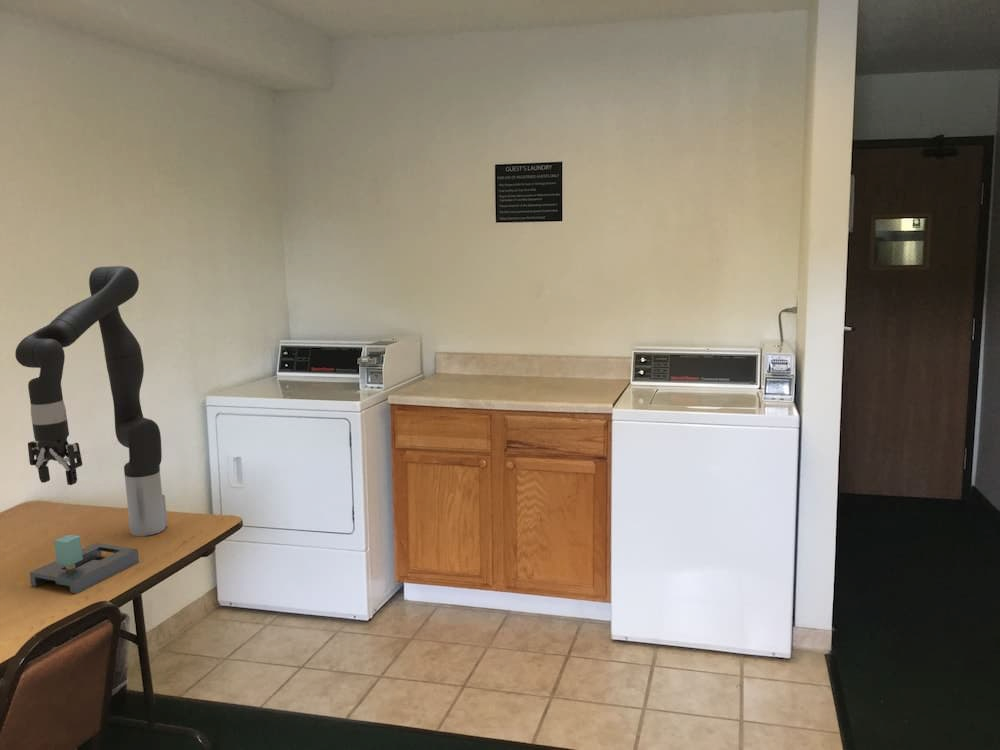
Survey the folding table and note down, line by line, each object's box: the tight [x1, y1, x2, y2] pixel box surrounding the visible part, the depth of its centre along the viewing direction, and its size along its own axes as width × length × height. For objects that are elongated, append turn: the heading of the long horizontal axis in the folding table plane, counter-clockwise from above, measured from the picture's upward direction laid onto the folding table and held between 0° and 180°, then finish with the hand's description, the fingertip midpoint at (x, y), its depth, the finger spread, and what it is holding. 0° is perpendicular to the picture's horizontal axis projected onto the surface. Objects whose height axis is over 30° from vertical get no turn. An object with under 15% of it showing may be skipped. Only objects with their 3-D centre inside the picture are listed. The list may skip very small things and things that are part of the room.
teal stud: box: [53, 534, 83, 587], centre depth 200 cm, size 5×5×11 cm
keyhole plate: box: [29, 542, 140, 595], centre depth 205 cm, size 20×14×4 cm
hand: (58, 482), depth 203 cm, fingers open, 8 cm apart
